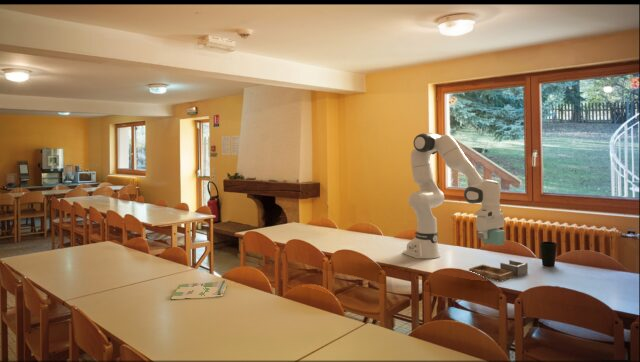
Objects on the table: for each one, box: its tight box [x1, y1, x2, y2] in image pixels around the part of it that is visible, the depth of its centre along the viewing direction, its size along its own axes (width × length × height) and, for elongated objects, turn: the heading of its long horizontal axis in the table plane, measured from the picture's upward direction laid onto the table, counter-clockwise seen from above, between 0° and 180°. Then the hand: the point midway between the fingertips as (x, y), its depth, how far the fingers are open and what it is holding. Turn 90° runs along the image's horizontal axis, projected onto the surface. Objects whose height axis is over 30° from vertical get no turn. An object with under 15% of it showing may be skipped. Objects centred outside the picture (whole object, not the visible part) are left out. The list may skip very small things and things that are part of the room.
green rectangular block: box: [476, 228, 506, 247], centre depth 220 cm, size 13×6×7 cm, turn 35°
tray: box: [468, 264, 515, 282], centre depth 209 cm, size 17×11×2 cm, turn 35°
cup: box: [540, 241, 558, 268], centre depth 221 cm, size 8×8×12 cm
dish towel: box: [171, 279, 227, 297], centre depth 197 cm, size 17×23×4 cm
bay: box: [499, 259, 529, 278], centre depth 211 cm, size 9×9×5 cm
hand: (490, 237), depth 220 cm, fingers closed on green rectangular block, 6 cm apart
